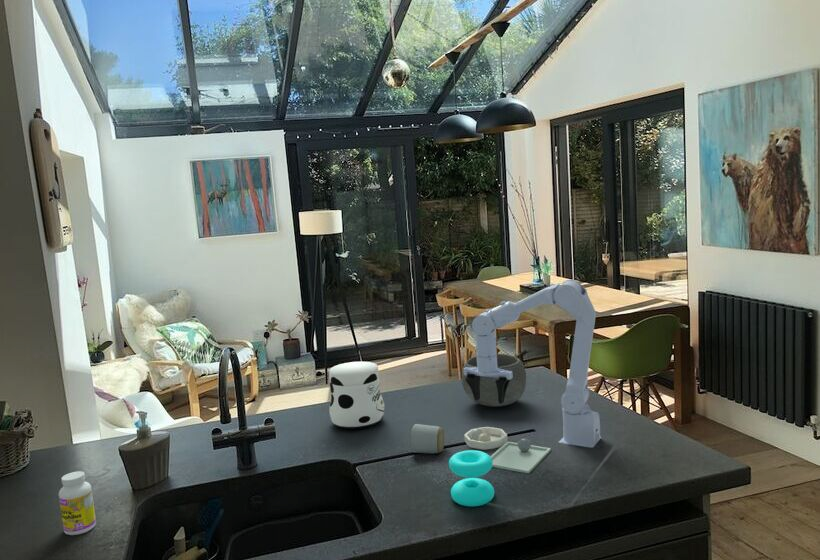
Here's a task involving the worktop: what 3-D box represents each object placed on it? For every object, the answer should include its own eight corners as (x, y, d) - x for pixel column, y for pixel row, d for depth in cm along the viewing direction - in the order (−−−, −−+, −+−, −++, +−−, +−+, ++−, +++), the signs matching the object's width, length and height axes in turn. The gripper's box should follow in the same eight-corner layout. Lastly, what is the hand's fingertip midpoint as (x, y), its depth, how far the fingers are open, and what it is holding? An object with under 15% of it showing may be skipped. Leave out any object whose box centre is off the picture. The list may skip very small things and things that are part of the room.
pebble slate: (533, 449, 171) (532, 437, 170) (528, 454, 168) (527, 442, 167) (521, 447, 172) (520, 435, 172) (516, 452, 170) (515, 440, 169)
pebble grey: (483, 427, 181) (472, 425, 181) (483, 432, 177) (471, 431, 178) (482, 438, 181) (470, 436, 182) (482, 443, 178) (470, 442, 178)
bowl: (533, 413, 200) (530, 366, 198) (465, 417, 200) (462, 371, 198) (522, 392, 221) (519, 350, 219) (461, 396, 221) (458, 354, 219)
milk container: (396, 422, 200) (391, 367, 198) (347, 437, 191) (342, 379, 189) (367, 410, 215) (363, 357, 212) (321, 423, 205) (316, 368, 203)
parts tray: (551, 452, 169) (550, 448, 169) (528, 475, 157) (528, 471, 157) (507, 445, 176) (507, 441, 176) (483, 467, 163) (482, 462, 163)
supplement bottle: (57, 536, 144) (49, 482, 142) (77, 521, 151) (69, 469, 149) (84, 536, 143) (76, 482, 141) (102, 521, 149) (95, 469, 148)
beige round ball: (484, 431, 178) (493, 433, 176) (483, 443, 178) (493, 446, 176) (475, 432, 176) (485, 435, 173) (475, 445, 176) (485, 447, 173)
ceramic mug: (440, 458, 171) (438, 430, 170) (411, 456, 173) (409, 429, 172) (448, 443, 181) (446, 417, 181) (420, 442, 184) (418, 416, 183)
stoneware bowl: (512, 438, 181) (512, 430, 180) (495, 453, 171) (495, 444, 171) (477, 433, 187) (476, 425, 186) (458, 447, 177) (458, 438, 177)
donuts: (439, 456, 148) (473, 444, 153) (442, 497, 149) (476, 484, 154) (466, 470, 139) (501, 457, 145) (469, 513, 141) (503, 499, 146)
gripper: (457, 356, 183) (460, 402, 185) (504, 360, 175) (506, 408, 177) (468, 350, 189) (471, 395, 190) (514, 354, 181) (517, 400, 183)
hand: (489, 401), depth 184 cm, fingers open, 7 cm apart
